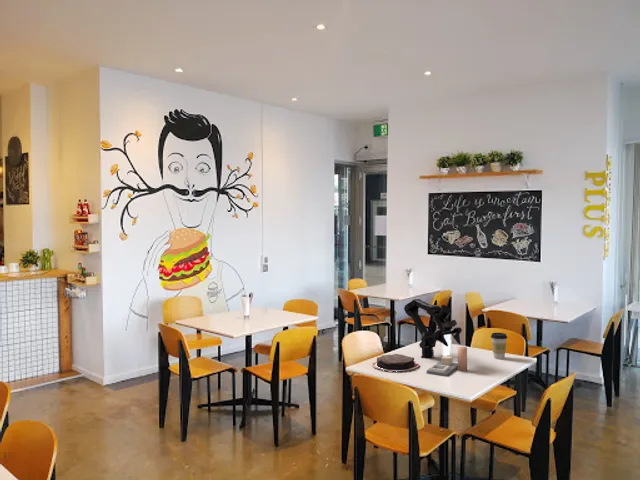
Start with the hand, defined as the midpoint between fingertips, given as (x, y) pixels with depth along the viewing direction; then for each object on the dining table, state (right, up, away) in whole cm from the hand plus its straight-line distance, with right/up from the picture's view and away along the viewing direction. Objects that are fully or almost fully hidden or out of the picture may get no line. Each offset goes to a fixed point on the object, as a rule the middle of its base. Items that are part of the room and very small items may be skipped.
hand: (453, 345), depth 309 cm
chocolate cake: (-34, -14, +6) cm, 37 cm away
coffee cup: (+33, -12, +17) cm, 39 cm away
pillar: (+4, -13, -6) cm, 15 cm away
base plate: (-7, -13, -4) cm, 16 cm away
